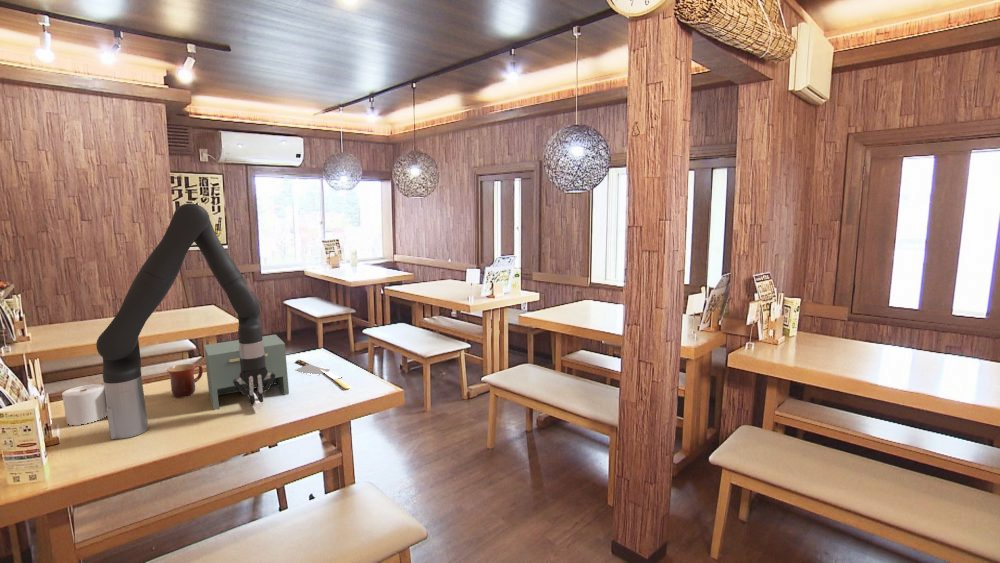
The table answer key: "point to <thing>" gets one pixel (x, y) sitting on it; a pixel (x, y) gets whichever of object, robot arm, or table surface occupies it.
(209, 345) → the cabinet
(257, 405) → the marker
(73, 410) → the toilet tissue
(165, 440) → the table surface
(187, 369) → the mug
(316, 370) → the kitchen cleaver
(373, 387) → the table surface
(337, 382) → the knife
